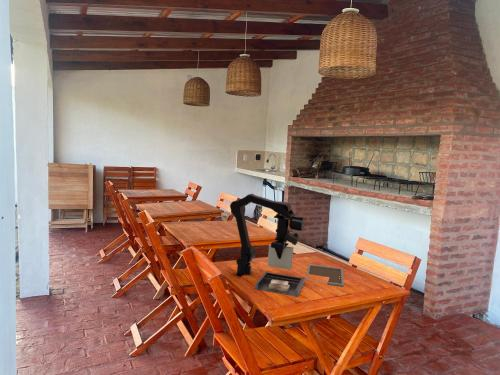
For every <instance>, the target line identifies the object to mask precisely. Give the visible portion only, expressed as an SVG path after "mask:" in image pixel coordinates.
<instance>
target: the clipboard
mask: <svg viewBox="0 0 500 375" xmlns="http://www.w3.org/2000/svg"><path fill="white" fill-rule="evenodd" d="M309 275H312V276H317V277H325V278H328V281H323V280H315V279H309ZM339 276H340V277H339ZM339 278H340V279H339ZM344 280H345V279H344V269H343V268H342V267H333V266H327V265H318V264H308V266H307V271H306V276H305V281H310V282H319V283H324V284H325V283H326V284H327V286H332V287H333V286H334V287H341V288H345V281H344Z"/></svg>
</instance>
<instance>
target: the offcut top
mask: <svg viewBox="0 0 500 375" xmlns="http://www.w3.org/2000/svg"><path fill="white" fill-rule="evenodd" d="M270 286H276V287H284V288H287V287H288V282H287V281H279V280H271V284H270Z"/></svg>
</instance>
